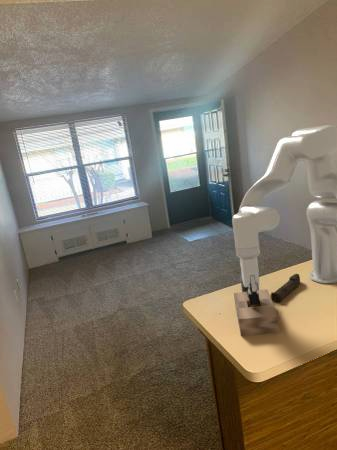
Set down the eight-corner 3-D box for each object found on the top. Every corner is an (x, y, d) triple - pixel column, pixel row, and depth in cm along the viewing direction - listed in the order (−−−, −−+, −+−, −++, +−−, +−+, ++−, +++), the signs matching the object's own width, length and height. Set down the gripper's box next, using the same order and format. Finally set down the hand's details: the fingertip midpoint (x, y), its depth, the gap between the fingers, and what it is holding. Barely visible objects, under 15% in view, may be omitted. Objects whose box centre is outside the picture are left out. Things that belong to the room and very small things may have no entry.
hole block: (268, 304, 121) (267, 289, 120) (279, 332, 104) (277, 315, 102) (235, 307, 123) (233, 293, 121) (240, 335, 106) (238, 319, 104)
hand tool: (280, 304, 120) (279, 292, 119) (270, 301, 123) (269, 290, 122) (306, 284, 132) (305, 273, 130) (297, 281, 135) (296, 271, 133)
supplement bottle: (238, 293, 133) (235, 266, 130) (248, 286, 137) (245, 260, 134) (253, 297, 128) (249, 269, 125) (263, 290, 132) (259, 262, 129)
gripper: (233, 243, 116) (239, 291, 120) (238, 261, 100) (245, 315, 104) (255, 240, 115) (260, 288, 119) (264, 258, 99) (269, 312, 103)
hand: (253, 300), depth 112 cm, fingers open, 3 cm apart
